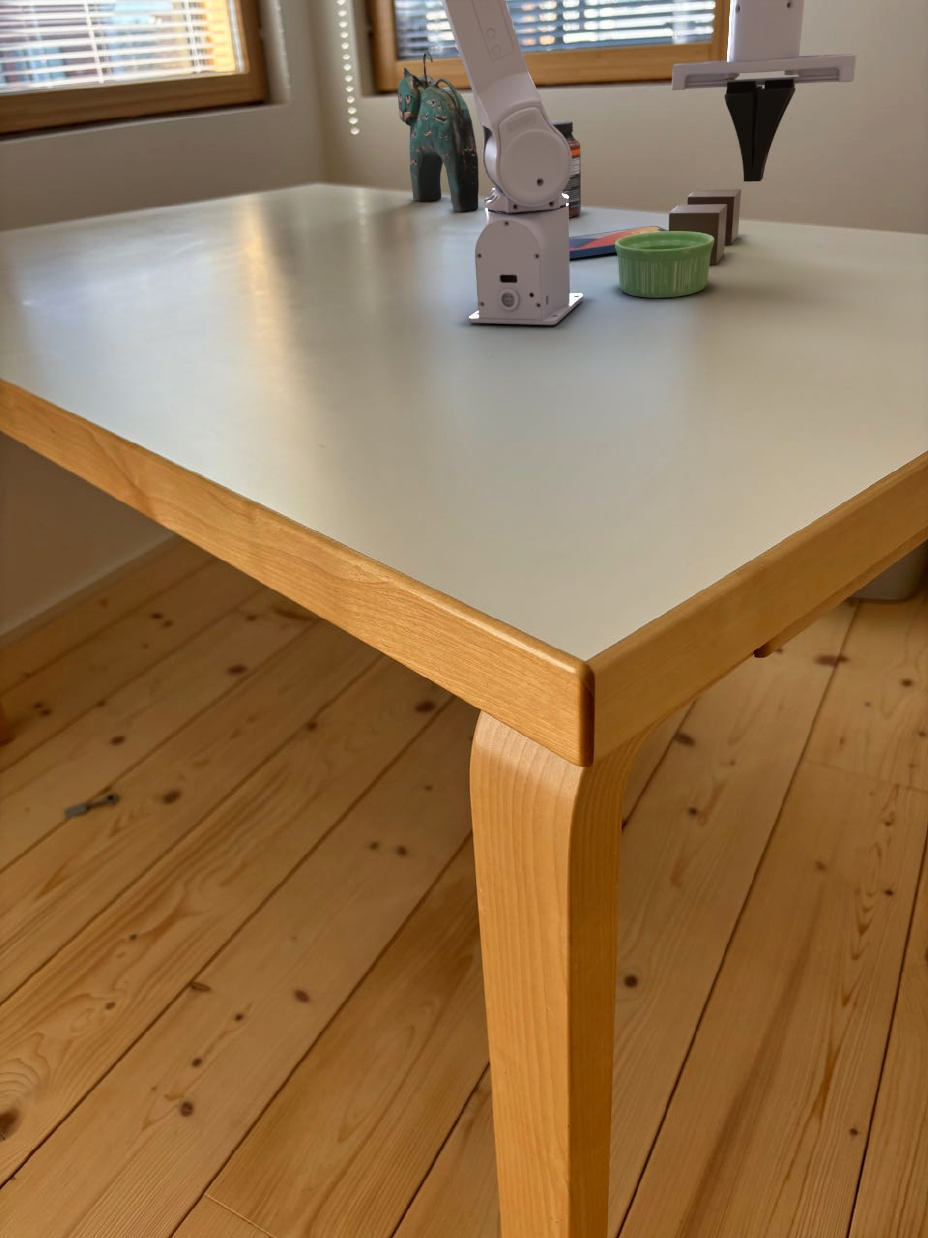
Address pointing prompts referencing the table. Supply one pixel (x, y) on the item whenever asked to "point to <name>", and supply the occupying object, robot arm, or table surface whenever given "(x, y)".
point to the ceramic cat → (439, 140)
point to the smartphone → (603, 241)
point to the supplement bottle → (575, 178)
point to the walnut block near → (702, 224)
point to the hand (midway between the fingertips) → (753, 179)
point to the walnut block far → (721, 197)
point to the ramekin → (664, 263)
